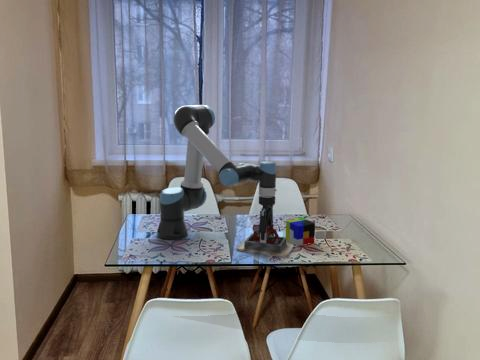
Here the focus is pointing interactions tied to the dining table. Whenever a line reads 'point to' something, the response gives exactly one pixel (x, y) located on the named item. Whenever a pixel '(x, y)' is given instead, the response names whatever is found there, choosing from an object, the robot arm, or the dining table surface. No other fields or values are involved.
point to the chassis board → (266, 247)
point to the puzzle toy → (300, 231)
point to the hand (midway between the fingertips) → (265, 242)
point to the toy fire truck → (270, 239)
